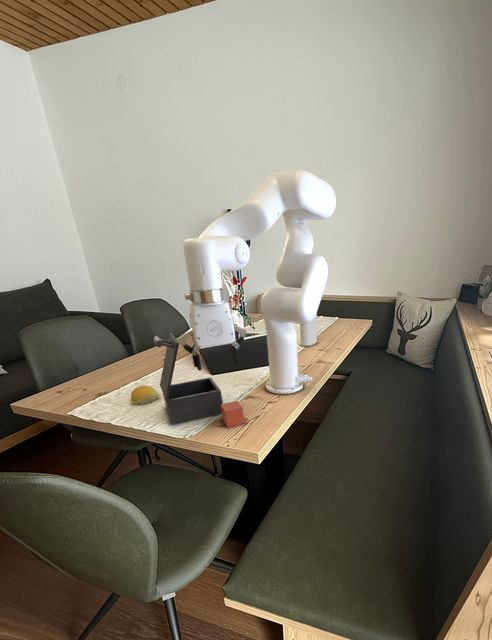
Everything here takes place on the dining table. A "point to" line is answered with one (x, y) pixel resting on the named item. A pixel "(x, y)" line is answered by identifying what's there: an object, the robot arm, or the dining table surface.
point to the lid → (167, 362)
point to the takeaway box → (193, 400)
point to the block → (232, 413)
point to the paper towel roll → (309, 332)
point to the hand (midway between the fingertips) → (217, 365)
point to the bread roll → (143, 395)
